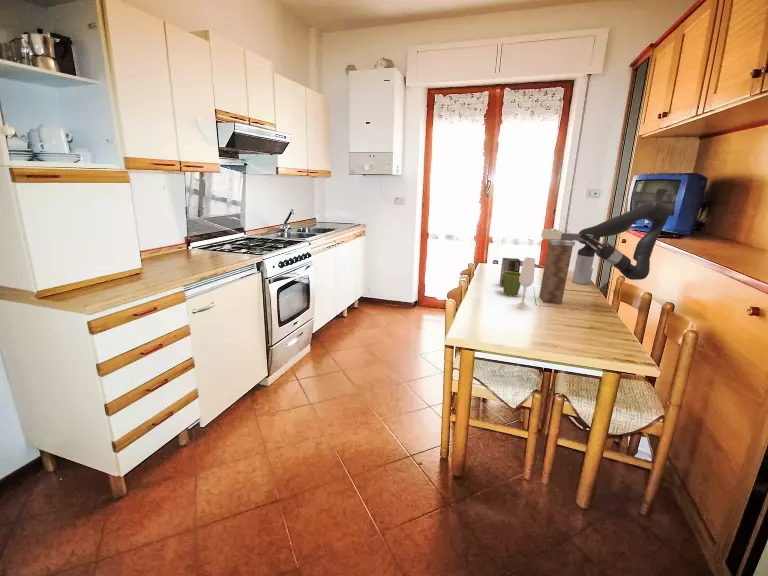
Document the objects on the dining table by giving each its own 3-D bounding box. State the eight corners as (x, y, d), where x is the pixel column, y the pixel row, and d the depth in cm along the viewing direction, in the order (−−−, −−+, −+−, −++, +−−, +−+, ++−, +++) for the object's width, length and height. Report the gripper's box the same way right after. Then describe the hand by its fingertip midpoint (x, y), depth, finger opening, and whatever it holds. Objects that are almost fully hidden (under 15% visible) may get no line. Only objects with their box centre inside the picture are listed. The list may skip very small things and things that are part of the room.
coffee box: (514, 285, 223) (518, 258, 218) (517, 288, 217) (521, 260, 212) (498, 284, 224) (502, 257, 219) (500, 287, 218) (504, 259, 213)
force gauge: (589, 240, 189) (591, 231, 188) (593, 242, 184) (595, 232, 183) (541, 237, 192) (542, 227, 191) (543, 238, 187) (545, 229, 186)
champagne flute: (512, 305, 188) (519, 258, 180) (518, 302, 192) (525, 256, 185) (525, 309, 183) (533, 260, 176) (531, 306, 188) (539, 258, 181)
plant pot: (525, 294, 207) (528, 274, 203) (515, 298, 198) (519, 278, 195) (505, 289, 214) (508, 269, 211) (495, 293, 206) (497, 273, 203)
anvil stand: (557, 298, 202) (568, 238, 193) (562, 304, 193) (575, 242, 183) (537, 296, 204) (548, 237, 194) (542, 302, 194) (553, 240, 185)
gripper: (609, 245, 192) (581, 226, 192) (620, 250, 179) (591, 229, 179) (598, 257, 195) (570, 238, 194) (609, 263, 182) (579, 243, 181)
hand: (580, 234), depth 186 cm, fingers closed on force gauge, 3 cm apart
